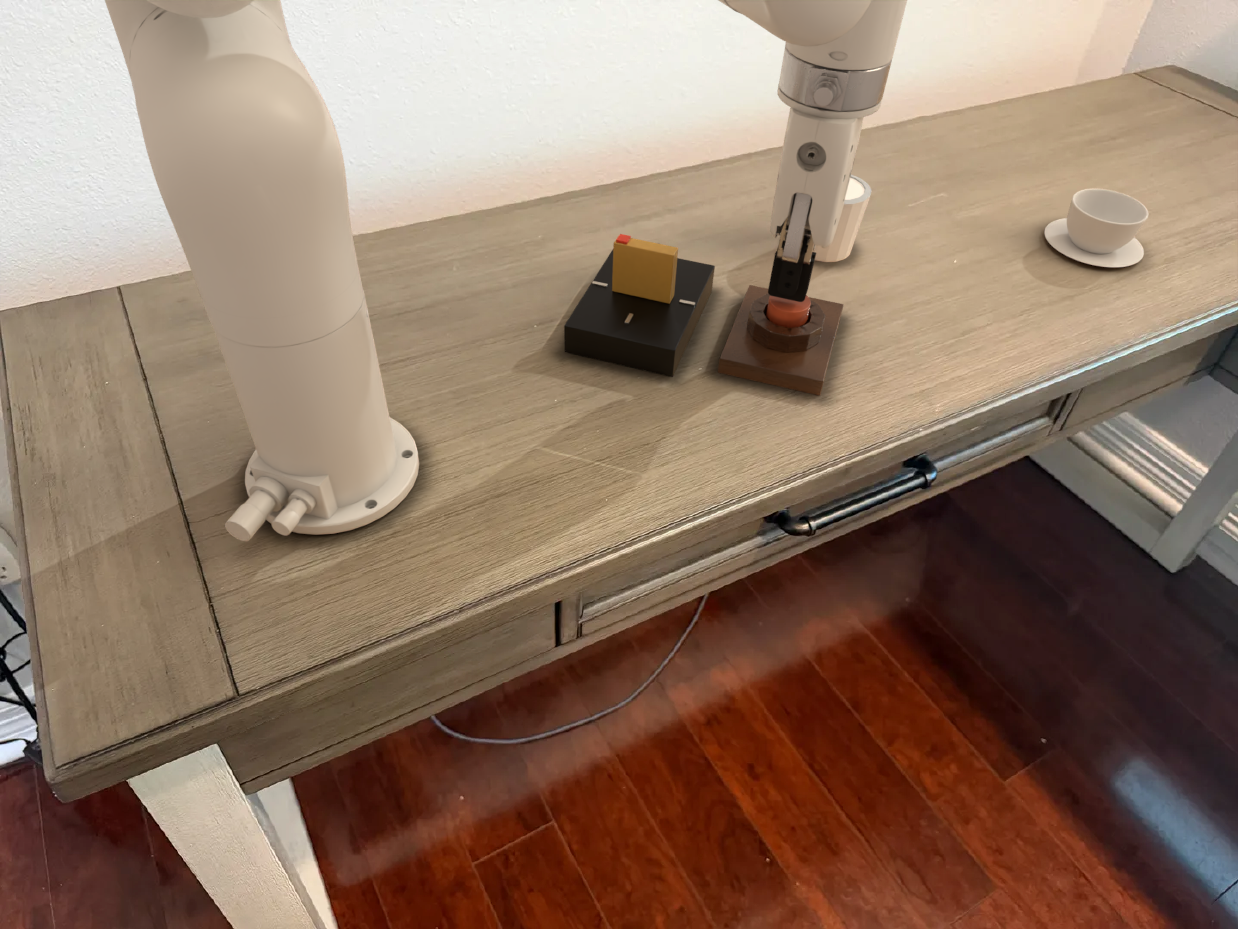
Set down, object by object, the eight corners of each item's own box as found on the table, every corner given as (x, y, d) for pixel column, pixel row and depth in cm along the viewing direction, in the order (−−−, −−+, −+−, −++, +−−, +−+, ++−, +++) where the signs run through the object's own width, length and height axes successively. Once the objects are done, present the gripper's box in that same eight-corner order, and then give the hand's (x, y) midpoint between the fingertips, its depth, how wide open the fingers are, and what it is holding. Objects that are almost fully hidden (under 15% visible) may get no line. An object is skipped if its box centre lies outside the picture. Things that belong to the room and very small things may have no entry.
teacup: (1130, 282, 90) (1151, 241, 87) (1031, 250, 94) (1048, 210, 91) (1150, 240, 96) (1170, 200, 93) (1056, 212, 100) (1072, 173, 97)
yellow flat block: (674, 295, 81) (678, 244, 77) (669, 304, 80) (674, 252, 76) (616, 283, 82) (618, 232, 78) (611, 291, 81) (613, 240, 77)
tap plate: (672, 378, 77) (675, 348, 75) (564, 353, 79) (563, 324, 77) (711, 292, 87) (715, 263, 84) (614, 271, 89) (615, 243, 86)
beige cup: (780, 254, 92) (792, 191, 87) (803, 224, 96) (815, 163, 91) (845, 273, 90) (860, 209, 85) (864, 242, 94) (880, 180, 89)
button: (803, 332, 77) (807, 315, 76) (762, 323, 78) (765, 306, 77) (810, 309, 80) (814, 293, 78) (770, 301, 80) (773, 284, 79)
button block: (819, 396, 76) (827, 364, 73) (717, 373, 78) (721, 341, 75) (840, 318, 84) (848, 287, 82) (747, 299, 86) (751, 267, 83)
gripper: (873, 127, 58) (816, 353, 71) (895, 51, 68) (842, 260, 81) (760, 107, 60) (724, 332, 72) (799, 35, 70) (762, 243, 83)
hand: (787, 293), depth 77 cm, fingers closed
